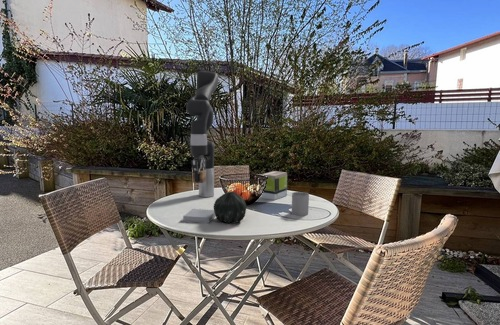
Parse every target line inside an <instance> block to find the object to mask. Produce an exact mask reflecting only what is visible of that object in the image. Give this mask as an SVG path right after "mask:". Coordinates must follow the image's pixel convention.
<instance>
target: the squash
mask: <svg viewBox="0 0 500 325" xmlns="http://www.w3.org/2000/svg"><path fill="white" fill-rule="evenodd" d="M213 210H214V212H215V215H216V216H215V217H216V218H217V219H218V220H219V221H221V222H225V223H227V224H231V223H232V224H236V223H237V222H241V221H242V220H244V218H245V216H246V212H247V203H246V201H245V199H244V198H243V197H242V196H240V195H239V194H238V193H236V192H235V191H227V192H225V193H223V194H222V195H221V196H219V197H218V198H216V200H215V201H214V204H213Z"/></svg>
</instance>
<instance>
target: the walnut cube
mask: <svg viewBox="0 0 500 325" xmlns="http://www.w3.org/2000/svg"><path fill="white" fill-rule="evenodd" d="M205 181H206V171H202V170H200V182H195V174H194V173H192V172H191V183H193V184H199V183H204V182H205Z"/></svg>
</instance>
